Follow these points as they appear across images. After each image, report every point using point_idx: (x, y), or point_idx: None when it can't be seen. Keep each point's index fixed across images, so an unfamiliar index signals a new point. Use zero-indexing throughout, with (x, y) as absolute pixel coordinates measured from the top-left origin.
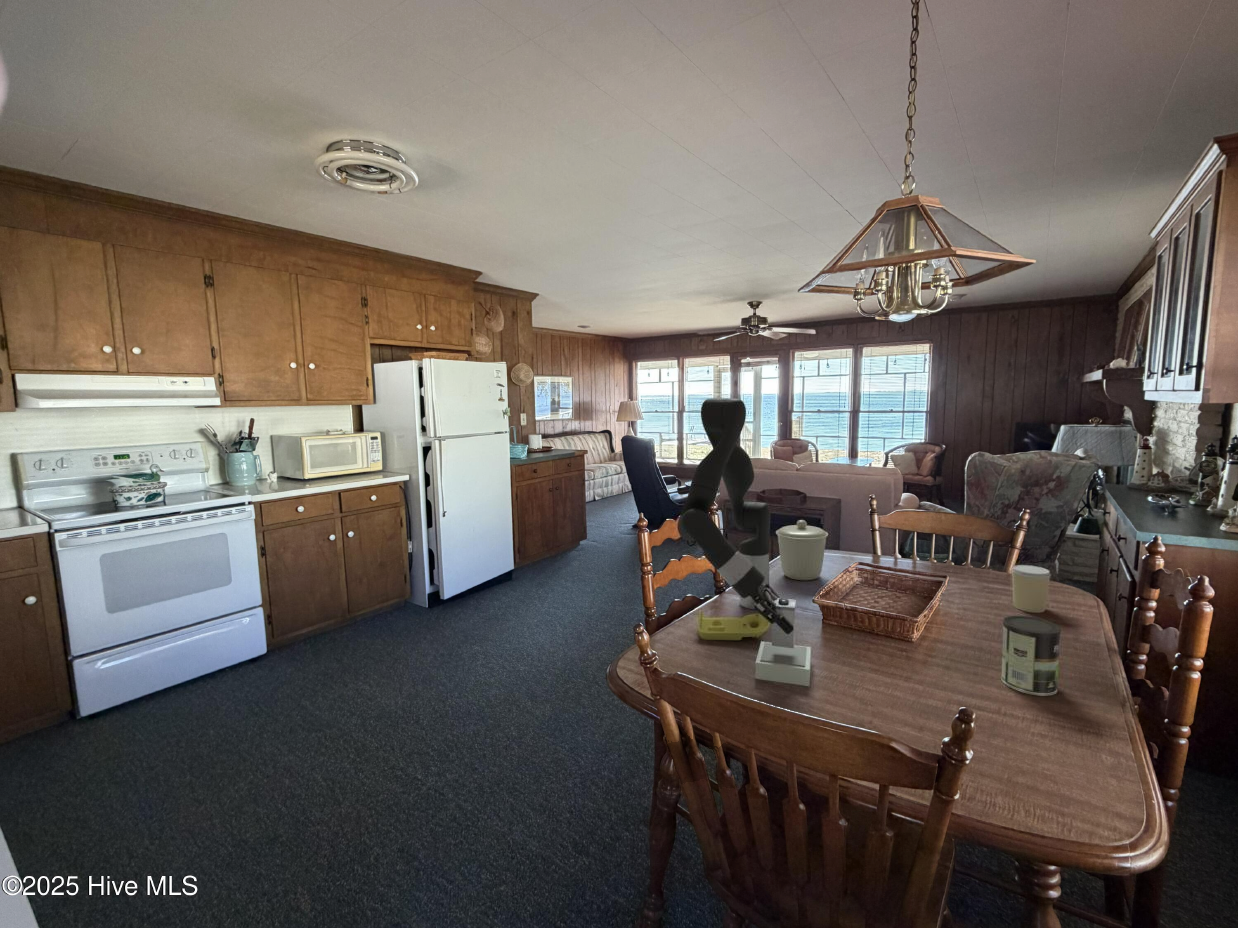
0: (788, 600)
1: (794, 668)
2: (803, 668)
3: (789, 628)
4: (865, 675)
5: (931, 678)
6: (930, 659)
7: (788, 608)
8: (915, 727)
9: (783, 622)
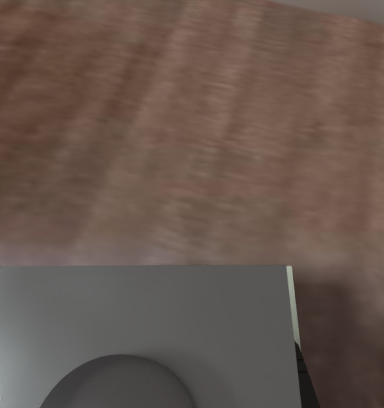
0: (109, 361)
1: (298, 328)
2: (290, 290)
3: (296, 346)
4: (152, 130)
5: (132, 12)
6: (32, 6)
7: (288, 352)
8: (376, 53)
9: (317, 404)
